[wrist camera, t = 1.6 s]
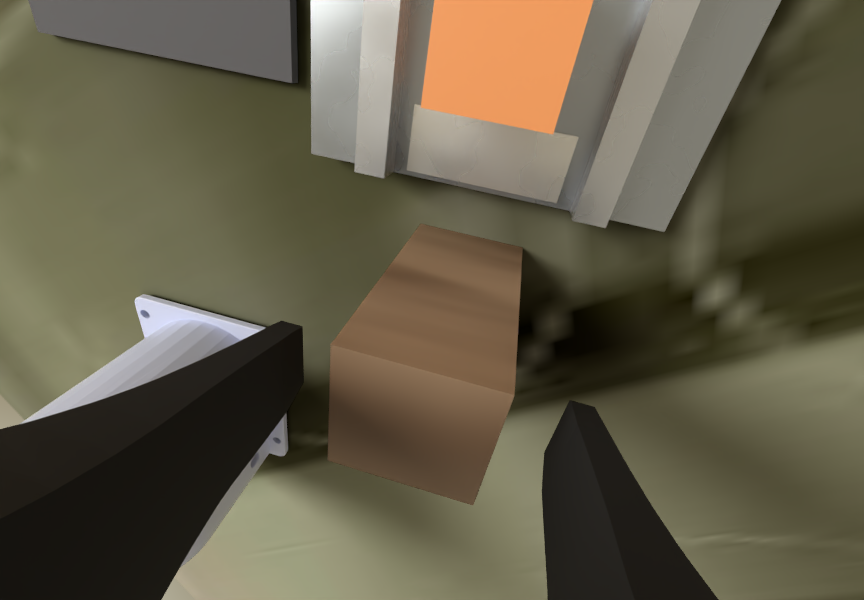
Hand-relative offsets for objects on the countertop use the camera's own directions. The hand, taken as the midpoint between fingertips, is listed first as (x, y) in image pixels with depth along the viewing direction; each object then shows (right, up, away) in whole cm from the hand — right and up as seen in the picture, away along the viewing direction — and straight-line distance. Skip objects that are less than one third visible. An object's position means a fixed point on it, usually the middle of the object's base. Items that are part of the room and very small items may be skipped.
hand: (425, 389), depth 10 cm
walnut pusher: (+1, +3, +6) cm, 7 cm away
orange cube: (+2, +9, 0) cm, 10 cm away
